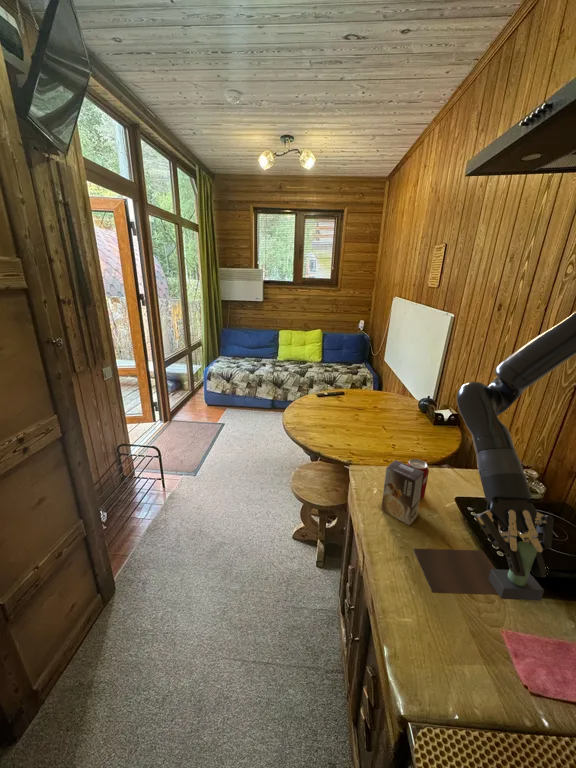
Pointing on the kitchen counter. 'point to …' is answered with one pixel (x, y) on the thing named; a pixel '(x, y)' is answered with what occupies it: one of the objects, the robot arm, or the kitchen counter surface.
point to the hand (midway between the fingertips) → (529, 575)
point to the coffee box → (402, 491)
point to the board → (456, 570)
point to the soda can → (423, 467)
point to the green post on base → (518, 578)
